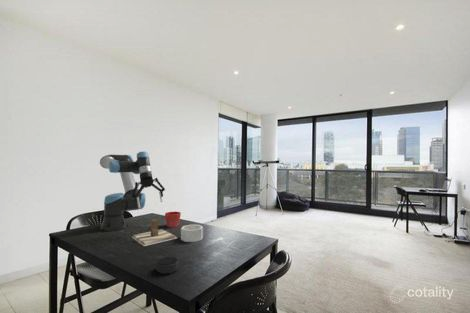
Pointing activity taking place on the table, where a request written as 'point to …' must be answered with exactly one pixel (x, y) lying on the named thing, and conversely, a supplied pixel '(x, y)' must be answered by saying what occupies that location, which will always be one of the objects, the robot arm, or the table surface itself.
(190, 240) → the bowl
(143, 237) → the lid
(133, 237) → the tray
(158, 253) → the table surface
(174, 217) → the flower pot
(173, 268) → the smart speaker
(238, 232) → the table surface
